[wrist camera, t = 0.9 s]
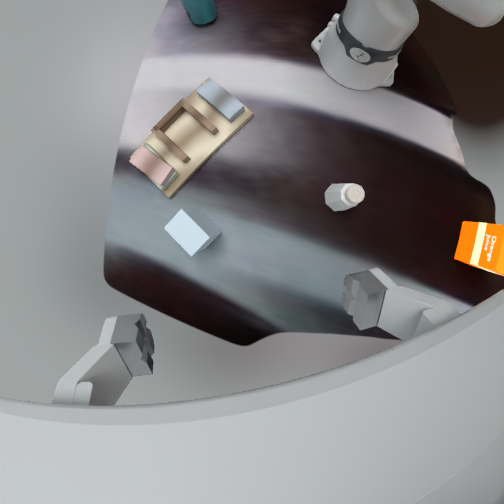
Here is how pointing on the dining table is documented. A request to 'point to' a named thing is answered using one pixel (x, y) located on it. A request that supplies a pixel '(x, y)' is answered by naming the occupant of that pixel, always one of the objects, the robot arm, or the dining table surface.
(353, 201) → the pepper shaker
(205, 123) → the block display stand
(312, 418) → the robot arm
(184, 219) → the pale blue upright box
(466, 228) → the orange juice
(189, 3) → the beverage bottle
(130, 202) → the dining table surface
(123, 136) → the dining table surface
